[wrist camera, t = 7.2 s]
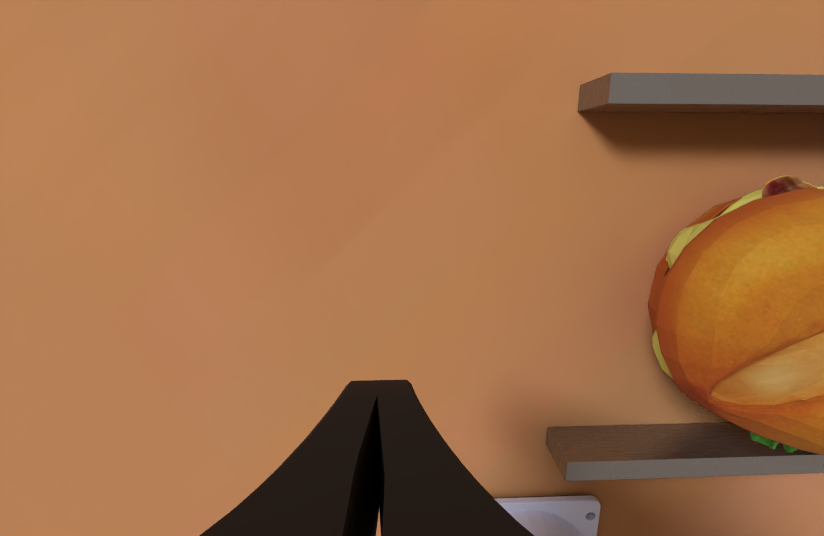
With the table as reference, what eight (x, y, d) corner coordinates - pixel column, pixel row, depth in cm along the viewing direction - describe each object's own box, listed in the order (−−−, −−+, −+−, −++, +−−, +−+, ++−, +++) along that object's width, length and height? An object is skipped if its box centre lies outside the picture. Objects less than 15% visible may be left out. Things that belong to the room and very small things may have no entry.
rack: (818, 436, 22) (886, 480, 19) (545, 444, 21) (571, 491, 18) (918, 88, 17) (1027, 73, 14) (580, 85, 17) (620, 68, 14)
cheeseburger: (786, 410, 21) (1028, 598, 12) (578, 340, 23) (640, 458, 13) (897, 220, 19) (1322, 259, 9) (656, 155, 20) (803, 129, 10)
